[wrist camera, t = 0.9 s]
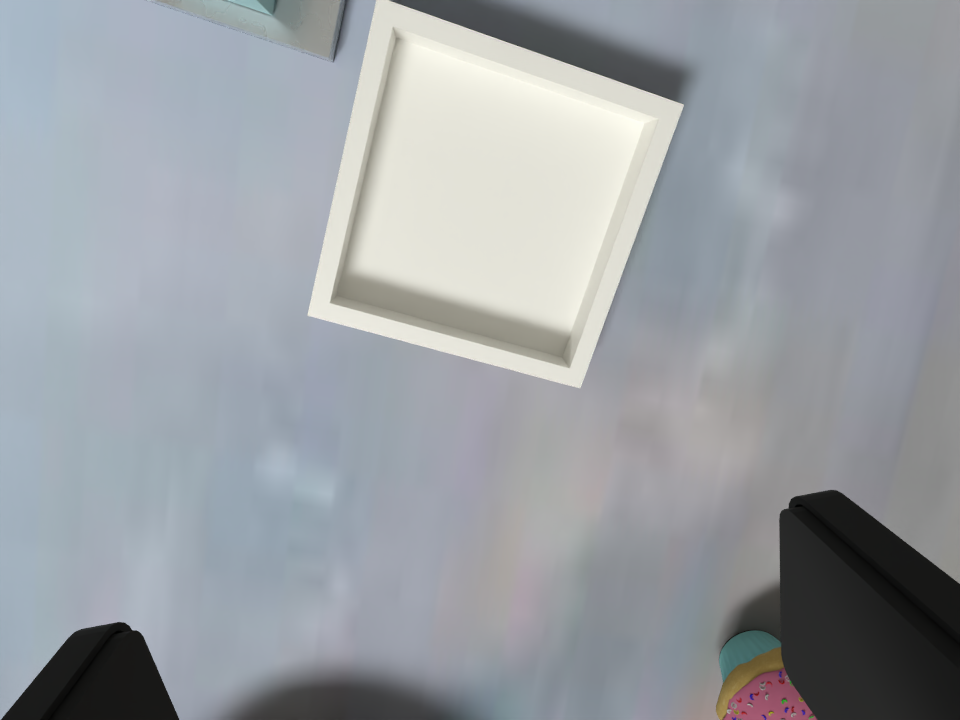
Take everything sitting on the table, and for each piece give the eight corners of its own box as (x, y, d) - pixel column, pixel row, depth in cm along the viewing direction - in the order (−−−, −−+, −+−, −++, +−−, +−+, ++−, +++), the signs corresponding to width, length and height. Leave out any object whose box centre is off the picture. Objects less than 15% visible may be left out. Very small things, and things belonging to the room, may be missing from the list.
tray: (383, 14, 30) (377, -4, 27) (662, 111, 32) (684, 104, 29) (318, 304, 34) (307, 315, 31) (569, 372, 36) (580, 388, 33)
